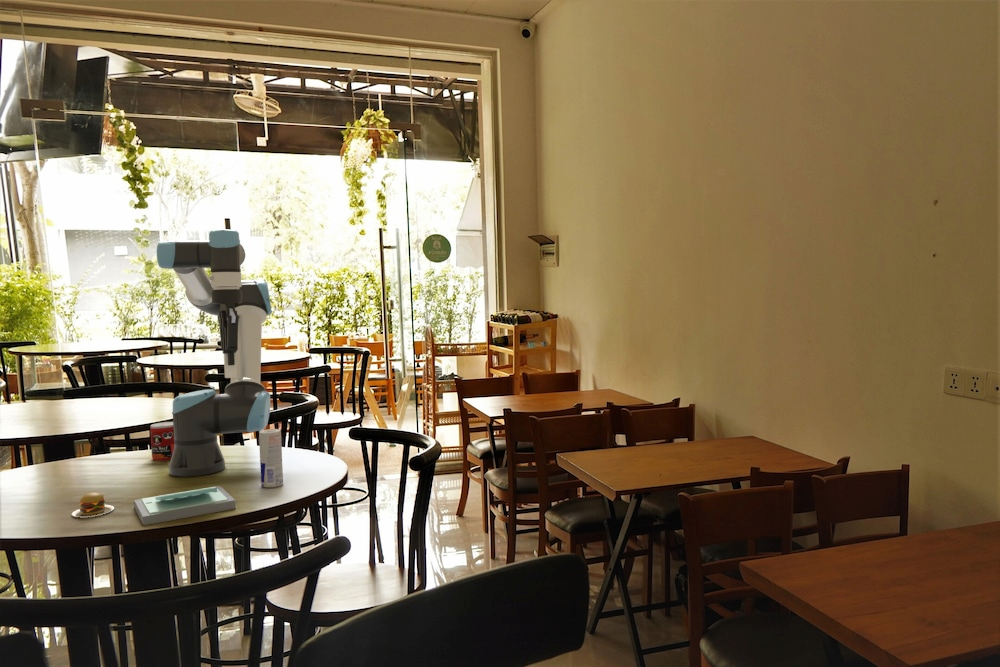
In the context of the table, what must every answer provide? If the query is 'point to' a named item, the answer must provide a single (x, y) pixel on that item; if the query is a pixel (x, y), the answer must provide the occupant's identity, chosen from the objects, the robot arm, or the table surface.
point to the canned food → (162, 441)
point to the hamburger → (92, 505)
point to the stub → (185, 494)
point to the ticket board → (183, 506)
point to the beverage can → (271, 458)
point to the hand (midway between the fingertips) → (230, 377)
